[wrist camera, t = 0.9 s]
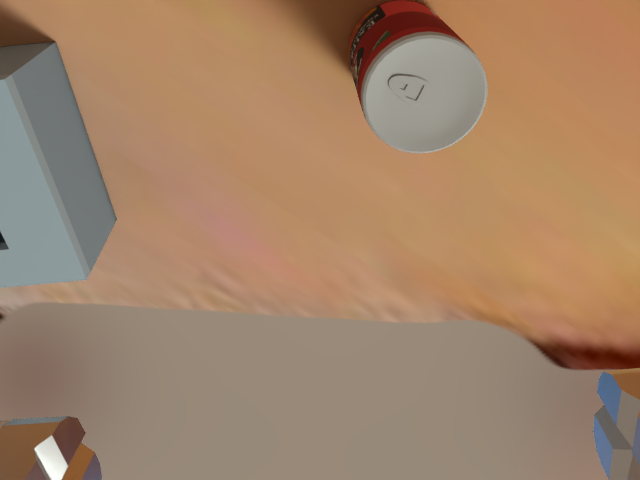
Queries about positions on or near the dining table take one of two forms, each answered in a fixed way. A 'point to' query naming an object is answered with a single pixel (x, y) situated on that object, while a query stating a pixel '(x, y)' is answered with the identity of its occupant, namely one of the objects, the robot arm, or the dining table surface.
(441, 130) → the canned food
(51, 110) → the tissue box
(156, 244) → the dining table surface
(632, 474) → the robot arm
